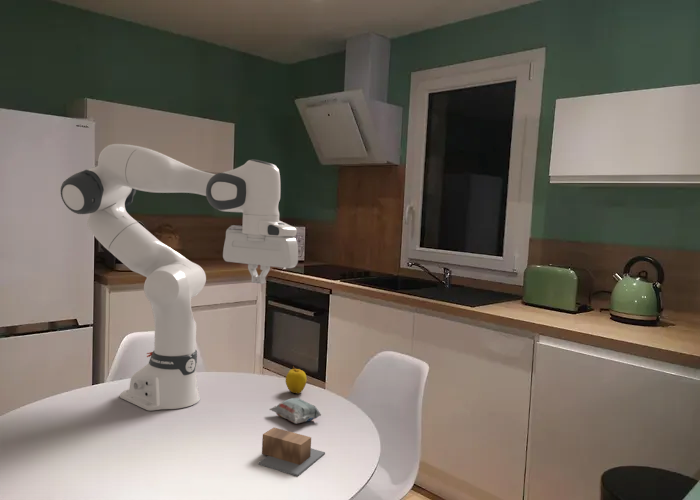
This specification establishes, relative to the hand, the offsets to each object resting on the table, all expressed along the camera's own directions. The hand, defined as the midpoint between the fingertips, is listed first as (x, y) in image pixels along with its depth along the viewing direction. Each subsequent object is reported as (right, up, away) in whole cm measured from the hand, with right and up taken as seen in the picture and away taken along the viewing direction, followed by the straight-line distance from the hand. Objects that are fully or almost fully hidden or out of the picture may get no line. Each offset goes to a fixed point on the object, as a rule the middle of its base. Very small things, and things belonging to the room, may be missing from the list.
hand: (258, 283), depth 129 cm
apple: (+6, -36, +31) cm, 48 cm away
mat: (+10, -39, -12) cm, 42 cm away
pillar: (+4, -35, -9) cm, 37 cm away
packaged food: (+8, -37, +11) cm, 40 cm away
